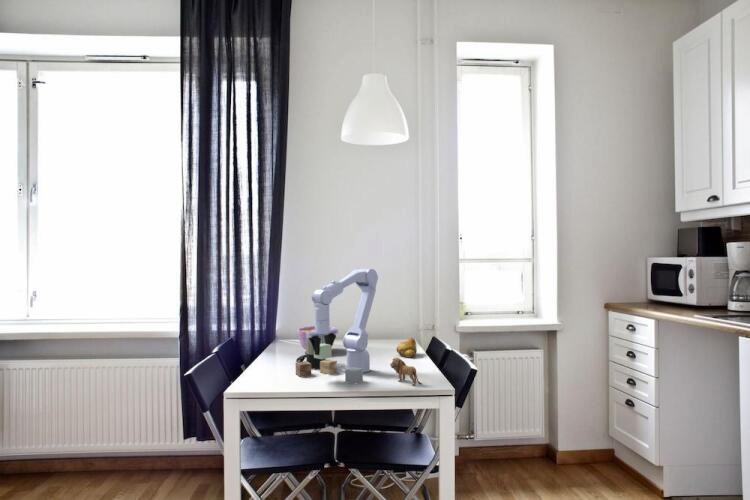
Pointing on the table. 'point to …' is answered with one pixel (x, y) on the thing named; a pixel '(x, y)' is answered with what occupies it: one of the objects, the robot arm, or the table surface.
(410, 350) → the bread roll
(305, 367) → the walnut block
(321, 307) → the robot arm
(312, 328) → the bowl of food
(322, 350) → the sage painted block
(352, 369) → the slate grey block
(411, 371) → the lion figurine
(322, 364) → the oak block
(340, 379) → the table surface
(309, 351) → the milk frother
